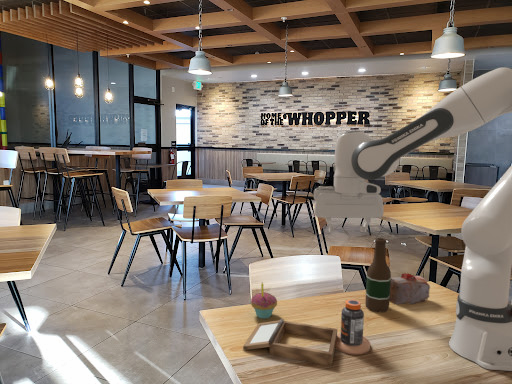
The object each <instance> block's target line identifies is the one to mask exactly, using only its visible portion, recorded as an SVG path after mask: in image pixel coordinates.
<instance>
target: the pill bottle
mask: <svg viewBox="0 0 512 384" xmlns="http://www.w3.org/2000/svg"><path fill="white" fill-rule="evenodd" d="M344 306H345V307H343V308H342V309H341V316H340V318H341V320H340V333H341V341H342V342H343V343H344V344H346V345H349V346H359V345H361V344H362V342H363V337H364V321H365V318H364V317H365V314H364V311H363V309H361V307H362V306H361V302H360V301H359V300H357V299H356V300H355V299H347V300H346V301H345V305H344Z"/></svg>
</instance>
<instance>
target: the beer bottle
mask: <svg viewBox="0 0 512 384" xmlns="http://www.w3.org/2000/svg"><path fill="white" fill-rule="evenodd" d="M374 243H375V245H374V254H373V259H372V263H371V264H370V265H369V267H367V271H366V283H365V285H366V286H365V299H364V300H365V308H366V309H368V310H369V311H371V312H375V313H386V312H387V311H388V310H389V309H390V302H391V301H390V284H391V278H392V272H391V269H390V266H389V265H388V264H387V256H386V251H387V249H386V244H387V239H386V238H382V237H378V238H375V240H374Z"/></svg>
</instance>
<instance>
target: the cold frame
mask: <svg viewBox="0 0 512 384" xmlns="http://www.w3.org/2000/svg"><path fill="white" fill-rule="evenodd" d="M279 320H280V321H279V323H278V325H277V326H276V328H275V330H274V332H273V334H272V335H271V337H270V339H269V341H268V342H269V343H270V347H269V355H270V356H274V357H281V358H286V359H291V360H296V361H297V360H298V361H304V362H308V363H315V364H319V365H325V366H330V367H332V365H333V361H334V357H335V356H334V354H335V351H336V348H335V344H336V339H337V334H338V328H333V327H327V326H319V325H312V324H306V323H300V322H294V321H287V320H284V319H283V318H280V319H279ZM285 333H287V334H293V335H299V336H304V337H305V336H306V337H309V338H310V337H312V338H317V339H318V338H319V339H324V340H328V341H329V340H330V342H329V348H328V350H327V351H325V350H321V349H314V348H309V347H304V346H297V345H290V344H285V343H280V342H281V340H282V339H283V336H284V335H285Z"/></svg>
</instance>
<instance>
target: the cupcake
mask: <svg viewBox="0 0 512 384" xmlns="http://www.w3.org/2000/svg"><path fill="white" fill-rule="evenodd" d="M260 289H261V292H259V293H256V294H254V295H253V296H252V297H251V299H250V305H251V307H252V308H253V309H254V311H255V314H256V317H258V318H259V319H265V320H266V319H269V318H270V317H272V314H273V311H274V310H275V308H276V307H277V305H278V300H277V298H276V297H275V295H273V294H271V293H268V292H264V283H263V282H261V286H260Z"/></svg>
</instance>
